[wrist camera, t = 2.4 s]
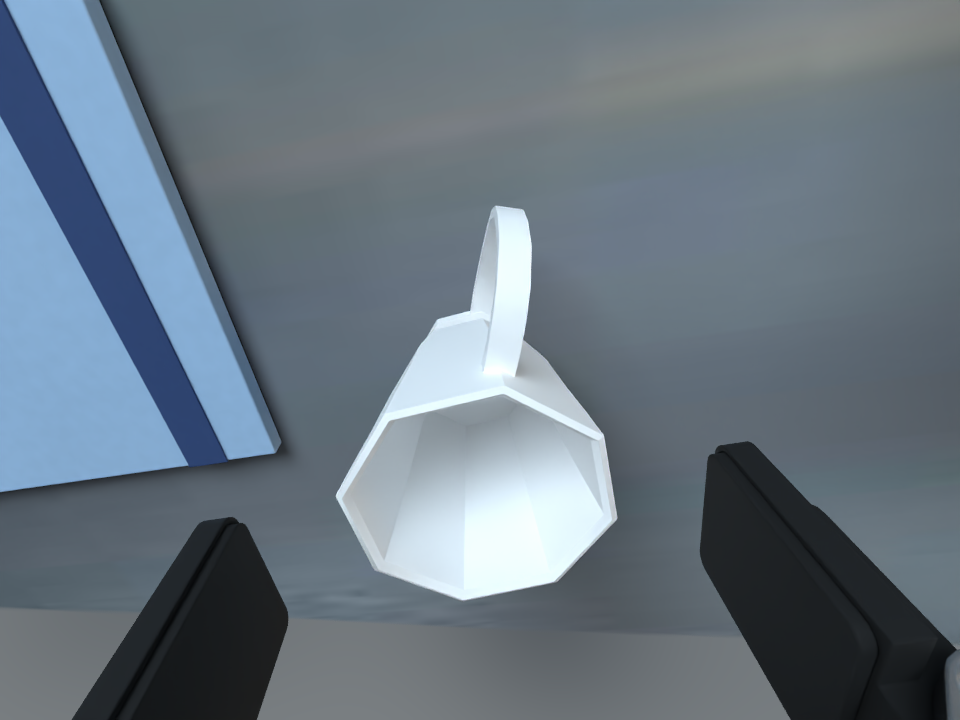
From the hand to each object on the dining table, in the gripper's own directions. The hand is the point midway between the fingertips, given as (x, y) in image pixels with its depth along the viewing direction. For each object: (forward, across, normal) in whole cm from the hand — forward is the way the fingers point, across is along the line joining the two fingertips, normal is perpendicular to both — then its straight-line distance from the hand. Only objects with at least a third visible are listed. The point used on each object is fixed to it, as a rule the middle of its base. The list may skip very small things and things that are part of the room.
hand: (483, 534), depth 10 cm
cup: (+10, 0, -1) cm, 10 cm away
